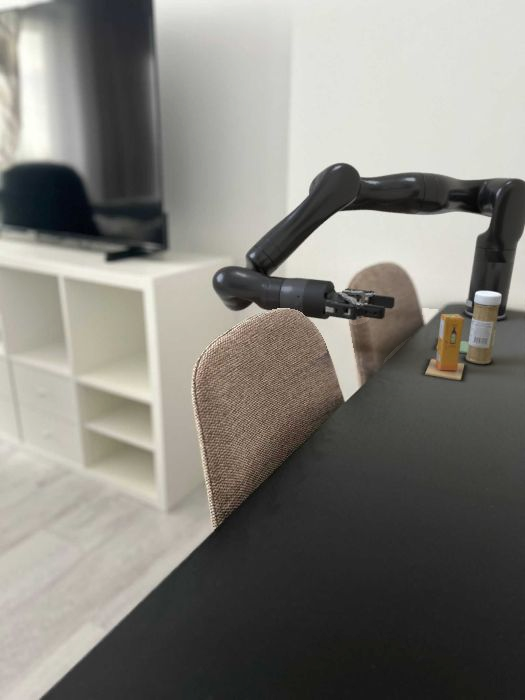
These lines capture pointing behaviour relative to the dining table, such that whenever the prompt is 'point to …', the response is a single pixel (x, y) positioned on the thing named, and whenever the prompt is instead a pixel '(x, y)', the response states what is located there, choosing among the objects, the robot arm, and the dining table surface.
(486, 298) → the sprinkles bottle
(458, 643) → the dining table surface
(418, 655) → the dining table surface
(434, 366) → the oak mat
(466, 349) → the green mat
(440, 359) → the supplement box
